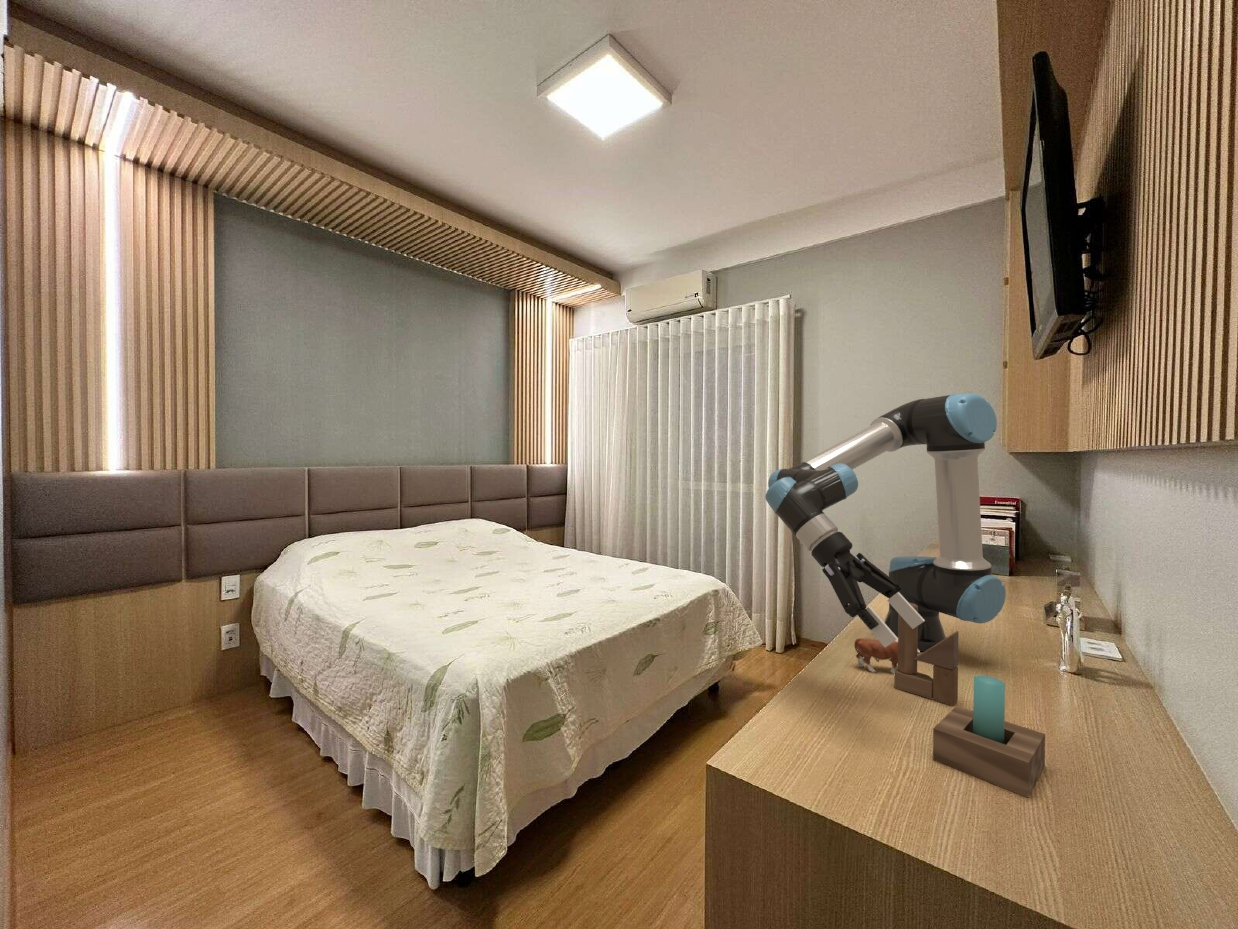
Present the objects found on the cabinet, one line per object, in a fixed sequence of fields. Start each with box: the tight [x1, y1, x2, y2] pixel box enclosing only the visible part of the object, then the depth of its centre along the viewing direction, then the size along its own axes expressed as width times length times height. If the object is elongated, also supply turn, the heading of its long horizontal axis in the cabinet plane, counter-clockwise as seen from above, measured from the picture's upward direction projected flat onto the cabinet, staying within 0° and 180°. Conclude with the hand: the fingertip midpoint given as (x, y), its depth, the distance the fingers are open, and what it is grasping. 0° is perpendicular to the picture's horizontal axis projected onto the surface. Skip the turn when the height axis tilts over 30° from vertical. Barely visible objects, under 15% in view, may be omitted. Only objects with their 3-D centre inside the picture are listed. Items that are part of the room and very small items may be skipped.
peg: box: [972, 674, 1006, 744], centre depth 79 cm, size 4×4×12 cm
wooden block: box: [893, 603, 959, 707], centre depth 103 cm, size 4×11×18 cm, turn 43°
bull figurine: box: [853, 637, 921, 675], centre depth 115 cm, size 4×13×8 cm, turn 71°
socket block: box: [932, 705, 1046, 798], centre depth 79 cm, size 12×12×5 cm
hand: (906, 633), depth 91 cm, fingers open, 13 cm apart
